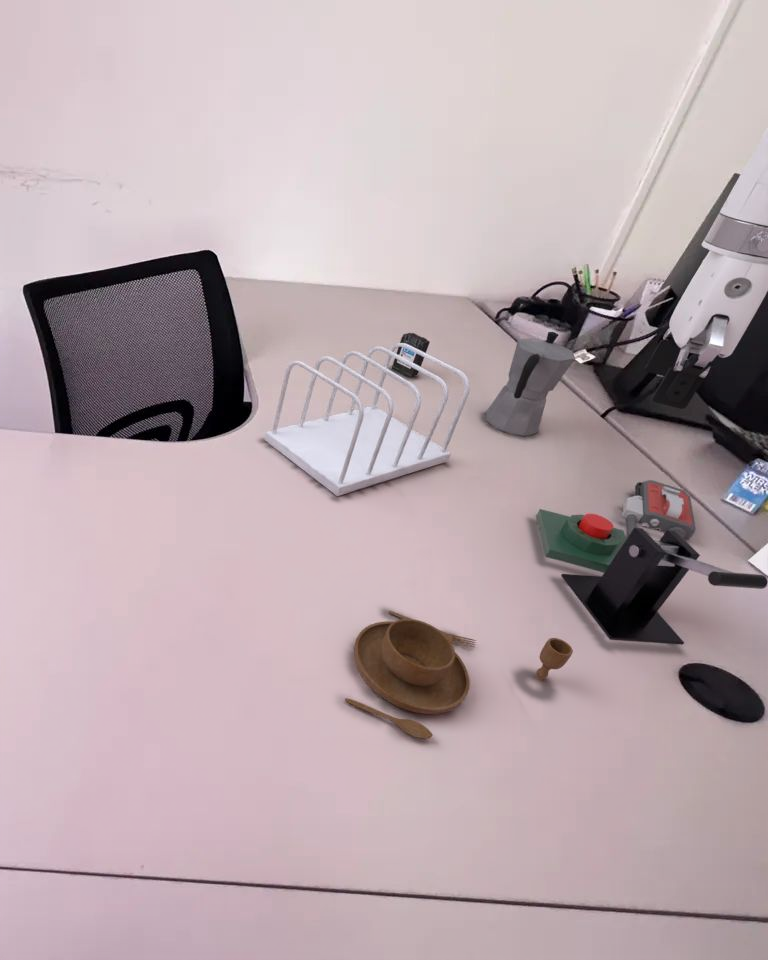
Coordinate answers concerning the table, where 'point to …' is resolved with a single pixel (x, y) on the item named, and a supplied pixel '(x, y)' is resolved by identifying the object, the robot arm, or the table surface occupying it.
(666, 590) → the bracket
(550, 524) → the control box
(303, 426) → the file sorter
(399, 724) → the place setting
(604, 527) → the button
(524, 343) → the coffeepot
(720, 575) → the lever
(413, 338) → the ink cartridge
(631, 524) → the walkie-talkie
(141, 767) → the table surface
